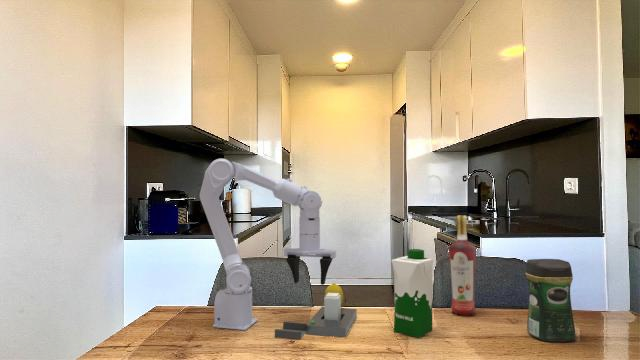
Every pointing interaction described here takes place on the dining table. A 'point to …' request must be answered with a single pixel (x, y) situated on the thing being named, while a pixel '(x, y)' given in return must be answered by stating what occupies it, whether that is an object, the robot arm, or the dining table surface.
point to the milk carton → (413, 294)
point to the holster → (291, 330)
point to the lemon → (334, 290)
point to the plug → (332, 306)
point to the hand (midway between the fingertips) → (309, 283)
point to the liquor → (462, 271)
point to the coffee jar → (550, 300)
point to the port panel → (331, 324)
